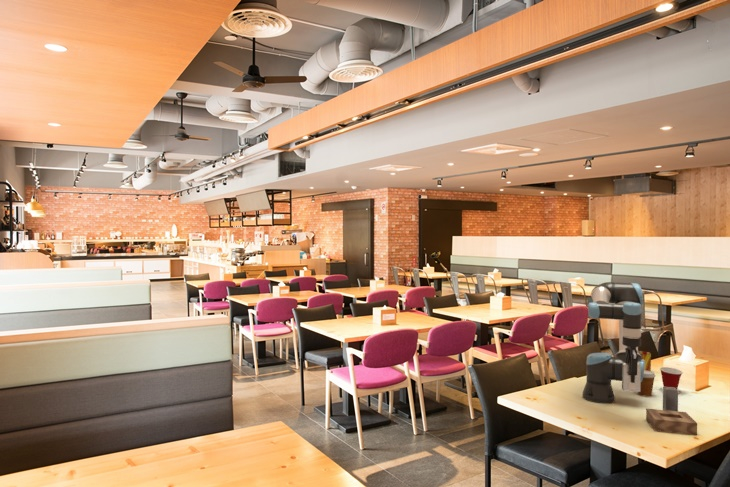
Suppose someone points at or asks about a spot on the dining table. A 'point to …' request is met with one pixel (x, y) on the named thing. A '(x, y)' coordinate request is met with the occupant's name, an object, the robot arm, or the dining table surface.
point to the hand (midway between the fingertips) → (631, 387)
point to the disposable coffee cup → (647, 383)
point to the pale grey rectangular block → (626, 377)
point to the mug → (646, 359)
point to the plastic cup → (670, 376)
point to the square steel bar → (670, 399)
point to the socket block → (671, 421)
